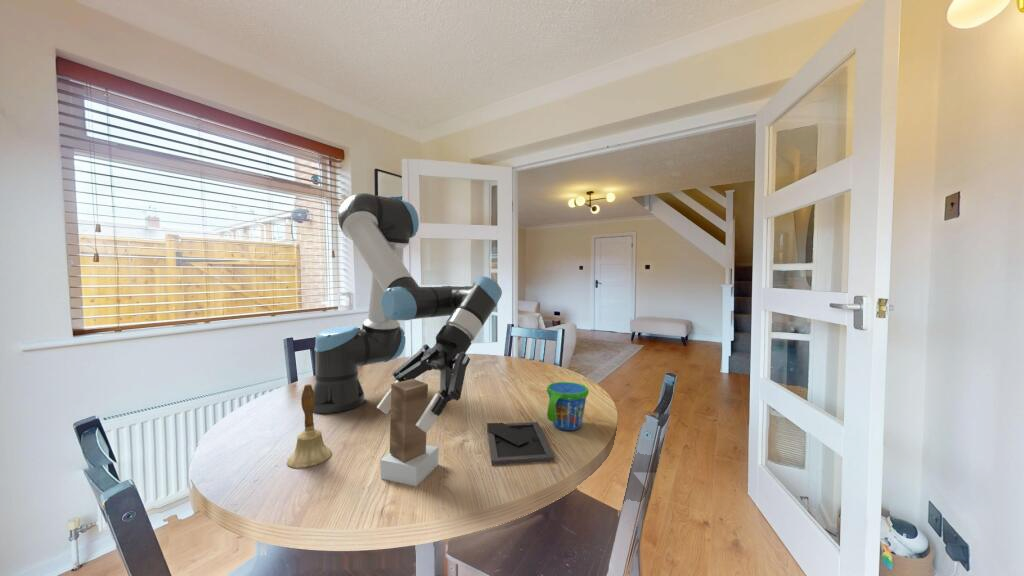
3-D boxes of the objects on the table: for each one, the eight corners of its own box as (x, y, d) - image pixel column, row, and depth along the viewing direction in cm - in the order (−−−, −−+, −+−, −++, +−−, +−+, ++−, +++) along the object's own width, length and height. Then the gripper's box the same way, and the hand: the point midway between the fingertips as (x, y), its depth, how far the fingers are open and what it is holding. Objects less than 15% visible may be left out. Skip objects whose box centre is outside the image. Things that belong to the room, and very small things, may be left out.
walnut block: (389, 453, 69) (391, 384, 68) (411, 444, 73) (413, 378, 72) (404, 462, 66) (406, 390, 65) (425, 452, 70) (427, 384, 69)
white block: (380, 480, 67) (380, 459, 67) (405, 459, 75) (405, 441, 74) (416, 488, 64) (416, 467, 64) (438, 466, 72) (438, 447, 72)
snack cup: (568, 412, 100) (569, 377, 100) (600, 423, 93) (601, 385, 93) (532, 428, 90) (532, 389, 89) (565, 442, 82) (565, 399, 82)
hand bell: (323, 466, 71) (322, 389, 71) (279, 470, 70) (277, 392, 69) (336, 447, 79) (336, 378, 79) (297, 450, 78) (296, 380, 78)
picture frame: (487, 430, 90) (491, 468, 72) (487, 423, 90) (491, 459, 72) (537, 427, 91) (554, 464, 73) (537, 420, 91) (554, 454, 73)
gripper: (507, 350, 73) (452, 447, 62) (433, 337, 89) (379, 412, 78) (490, 328, 69) (428, 428, 57) (415, 318, 84) (356, 395, 73)
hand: (400, 419), depth 67 cm, fingers open, 13 cm apart
